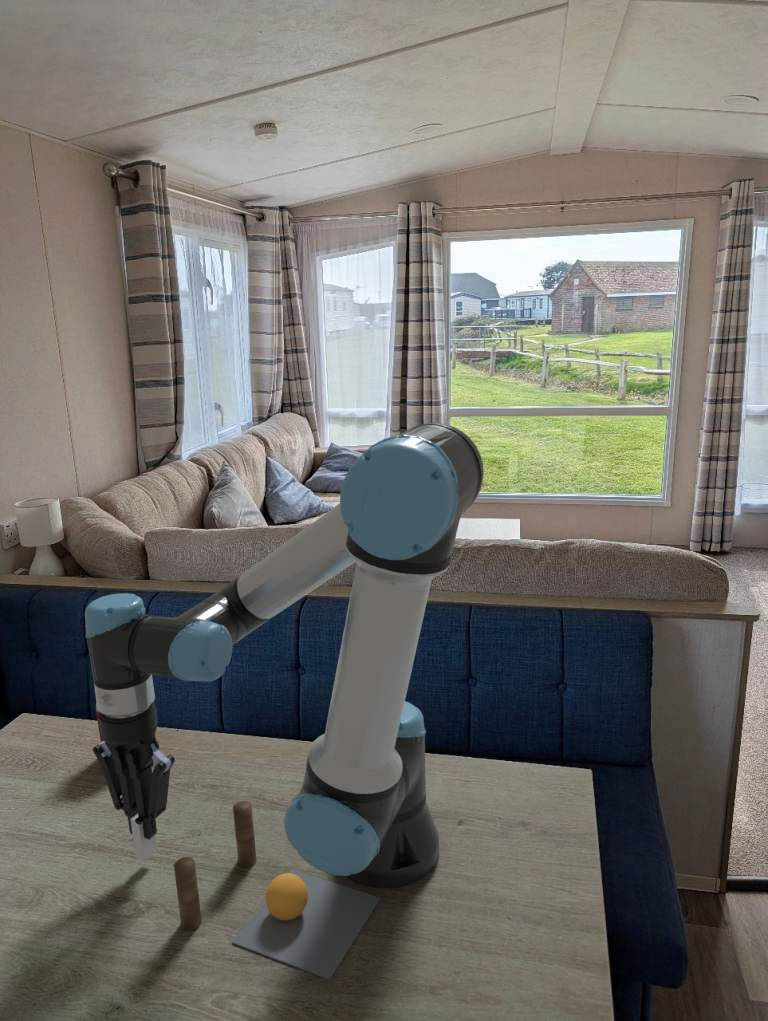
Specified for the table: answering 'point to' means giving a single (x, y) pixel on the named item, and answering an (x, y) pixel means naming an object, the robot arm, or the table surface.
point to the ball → (286, 896)
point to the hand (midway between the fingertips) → (146, 853)
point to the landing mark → (311, 927)
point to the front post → (187, 893)
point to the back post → (244, 833)
